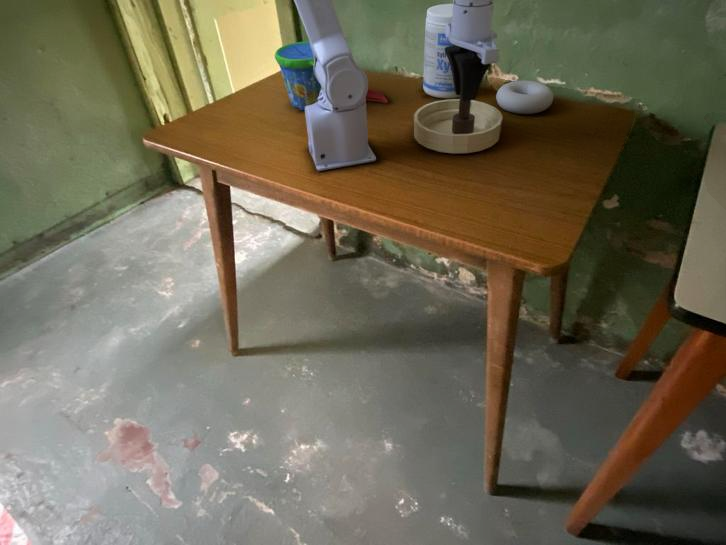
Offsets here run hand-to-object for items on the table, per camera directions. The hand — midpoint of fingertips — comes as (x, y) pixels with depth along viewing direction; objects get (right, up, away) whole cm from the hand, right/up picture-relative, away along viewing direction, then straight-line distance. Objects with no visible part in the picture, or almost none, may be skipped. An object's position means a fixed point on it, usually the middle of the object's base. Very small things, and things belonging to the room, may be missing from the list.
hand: (465, 96), depth 78 cm
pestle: (0, -4, +4) cm, 6 cm away
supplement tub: (0, +8, +19) cm, 21 cm away
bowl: (-1, -5, +4) cm, 7 cm away
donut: (+13, +2, +12) cm, 18 cm away
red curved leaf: (-17, +6, +19) cm, 26 cm away
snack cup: (-27, +5, +18) cm, 33 cm away
